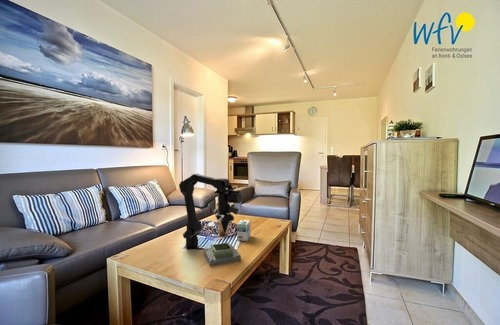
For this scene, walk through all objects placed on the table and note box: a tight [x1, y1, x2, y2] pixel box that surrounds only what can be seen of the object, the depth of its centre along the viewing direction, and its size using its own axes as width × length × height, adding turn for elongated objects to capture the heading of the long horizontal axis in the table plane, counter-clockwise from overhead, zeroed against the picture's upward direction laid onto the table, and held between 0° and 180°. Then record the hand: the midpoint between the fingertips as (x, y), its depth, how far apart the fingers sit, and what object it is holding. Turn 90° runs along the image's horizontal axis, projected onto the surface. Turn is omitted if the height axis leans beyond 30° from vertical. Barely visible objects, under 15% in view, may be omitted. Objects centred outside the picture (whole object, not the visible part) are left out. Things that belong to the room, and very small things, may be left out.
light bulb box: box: [236, 219, 251, 242], centre depth 154 cm, size 11×7×11 cm, turn 168°
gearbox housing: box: [203, 242, 242, 267], centre depth 126 cm, size 16×16×6 cm
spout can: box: [217, 218, 233, 238], centre depth 130 cm, size 7×6×10 cm
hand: (223, 229), depth 130 cm, fingers closed on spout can, 5 cm apart
